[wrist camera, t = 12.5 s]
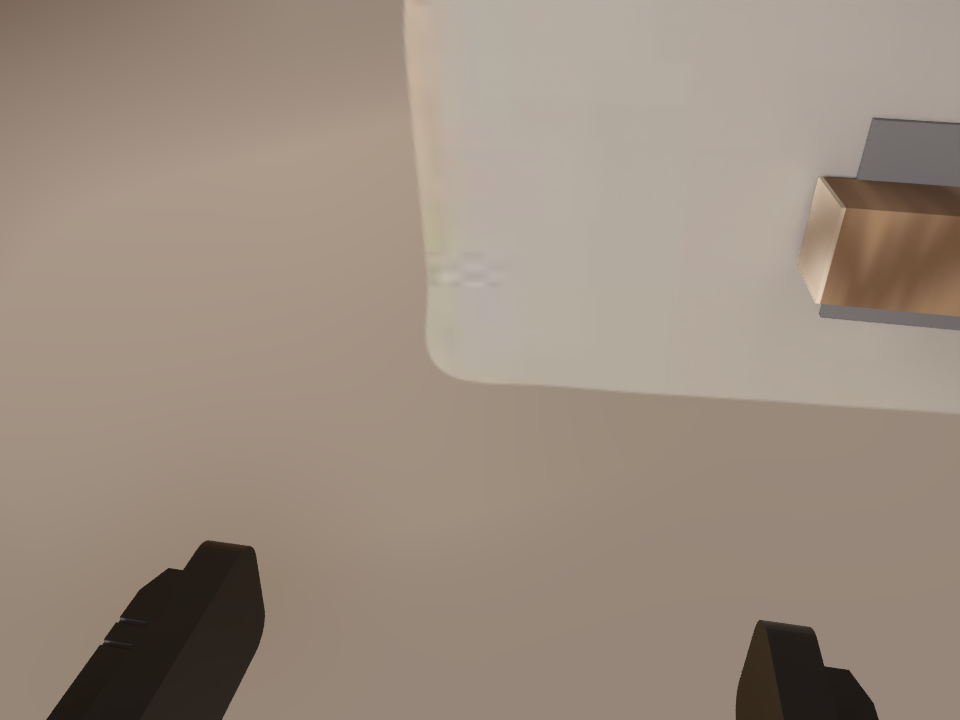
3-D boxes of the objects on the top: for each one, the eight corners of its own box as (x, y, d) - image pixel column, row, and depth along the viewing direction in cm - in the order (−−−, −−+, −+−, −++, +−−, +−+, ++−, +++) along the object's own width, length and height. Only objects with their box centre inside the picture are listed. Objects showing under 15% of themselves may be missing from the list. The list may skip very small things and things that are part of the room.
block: (841, 207, 33) (1151, 230, 31) (818, 176, 37) (1094, 196, 35) (815, 303, 35) (1104, 329, 34) (796, 265, 39) (1055, 286, 38)
